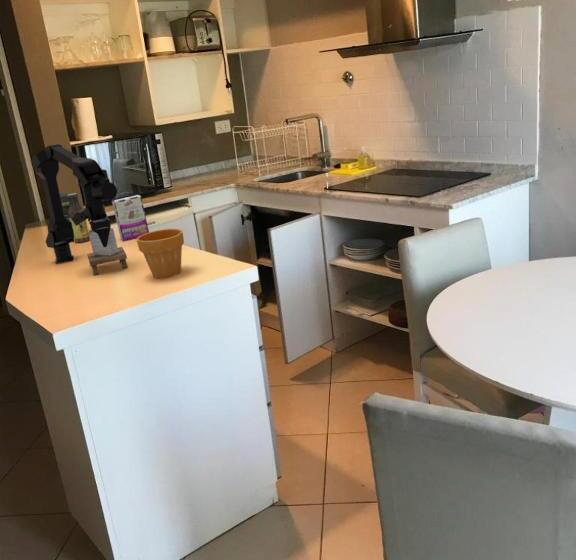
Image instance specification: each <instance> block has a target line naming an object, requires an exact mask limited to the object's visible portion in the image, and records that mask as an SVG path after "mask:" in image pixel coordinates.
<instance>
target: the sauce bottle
mask: <svg viewBox="0 0 576 560" xmlns="http://www.w3.org/2000/svg"><path fill="white" fill-rule="evenodd" d="M78 197H79V196H78V193H69V195H67V198H68V200H69V205H70V207H69V210H68V214H69V219H70V221H71V223H72V227H73V230H74V243H76V244H77V243H79V244H80V243H82V244H83V243H85V242H88V241H90V237H89V233H88V232H89V229H88V224H87V219H86V220H85V221H83V222H81V223H80V224H79V225H77V226H76V225H75V224H74V222H73V221H72V219H71V218H70V216H71V215H72V214H74V213H76V212H77V211H79V210H81V209H83V208H82V206H81V205H80V202H79V199H78Z"/></svg>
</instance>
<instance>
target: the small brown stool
mask: <svg viewBox="0 0 576 560" xmlns="http://www.w3.org/2000/svg"><path fill="white" fill-rule="evenodd" d="M118 251H119V252H118V253H116V254H114V255H111V256H102V255H94V253H93V252H92V253H87V254H86V255H87V259H88V263H89V266H90V267H91V269H92V272H93V276H98V275H99V271H98V266H99V265H103V264H107V263H112V262H117V261H119V263H121V266H122V269H123V270H126V269H128V265H127V264H128V263H127V259H128V256H127V253H126V251H125V250H124V248H123V246H120V247H118Z"/></svg>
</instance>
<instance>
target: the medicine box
mask: <svg viewBox="0 0 576 560" xmlns="http://www.w3.org/2000/svg"><path fill="white" fill-rule="evenodd" d="M88 233H89V241H90V243H91V244H90V245H91V248H92V253H94V255H102V256H111V255H114V254H116V253H118V252H119V251H118V248H119V247H118V244H117V239H116V234H115V231H114V228H112V227H111V228H110V233H109V238H108V243H107V247H103V245H102V243H101V240H100V238H99V236H98V234H97V233H95V232H93V231H92V229H91V230H88Z"/></svg>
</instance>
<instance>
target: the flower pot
mask: <svg viewBox="0 0 576 560" xmlns="http://www.w3.org/2000/svg"><path fill="white" fill-rule="evenodd" d="M184 238H185V237H184V232H183V230H182V229H179V228H165V229H159V230H153V231H149V233H146V234H143V235H141V236H139V237H138V238H136V242H137V247H138V251H139V252H140V253H142V255H143V256H144V258H145V261H146V263H147V266H148V268H149V270H150V272H151V275H152V277H153V278H155V279H167V278H168V279H169V278H172V277H175V276H177V275H179V274H180V273H181V272H182V248H183V245H184V244H185V241H184Z"/></svg>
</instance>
